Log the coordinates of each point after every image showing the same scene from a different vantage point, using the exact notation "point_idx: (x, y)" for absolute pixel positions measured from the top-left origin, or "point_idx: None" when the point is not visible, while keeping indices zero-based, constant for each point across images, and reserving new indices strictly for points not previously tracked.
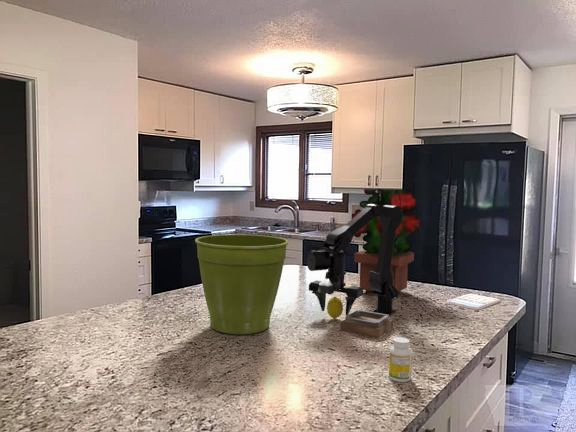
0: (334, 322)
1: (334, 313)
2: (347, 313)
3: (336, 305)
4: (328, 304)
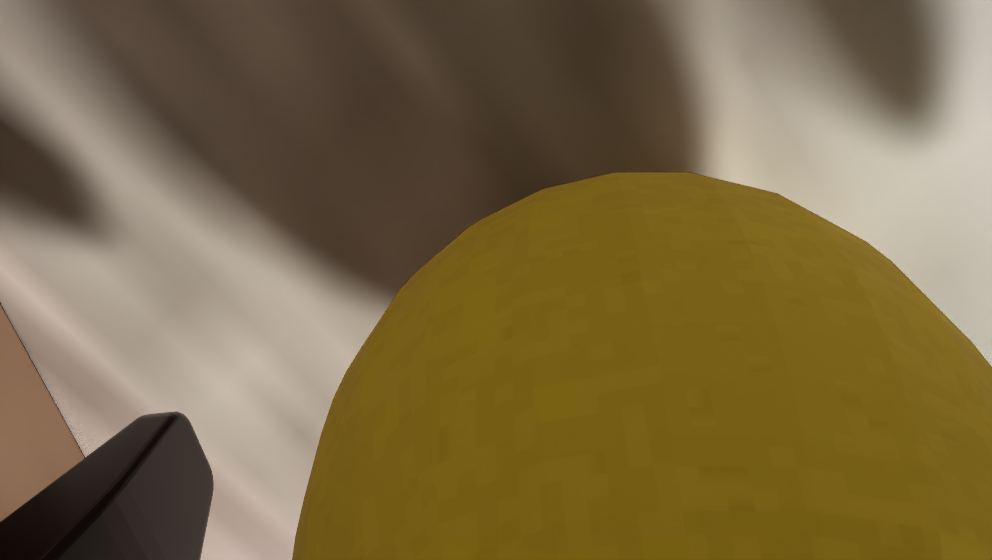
0: (418, 14)
1: (481, 228)
2: (82, 469)
3: (384, 551)
4: (963, 470)
